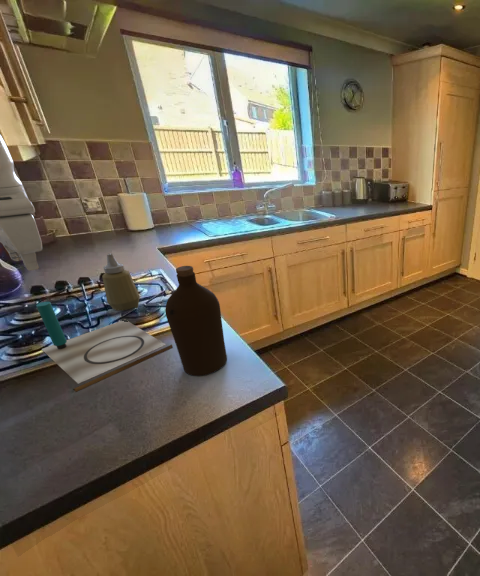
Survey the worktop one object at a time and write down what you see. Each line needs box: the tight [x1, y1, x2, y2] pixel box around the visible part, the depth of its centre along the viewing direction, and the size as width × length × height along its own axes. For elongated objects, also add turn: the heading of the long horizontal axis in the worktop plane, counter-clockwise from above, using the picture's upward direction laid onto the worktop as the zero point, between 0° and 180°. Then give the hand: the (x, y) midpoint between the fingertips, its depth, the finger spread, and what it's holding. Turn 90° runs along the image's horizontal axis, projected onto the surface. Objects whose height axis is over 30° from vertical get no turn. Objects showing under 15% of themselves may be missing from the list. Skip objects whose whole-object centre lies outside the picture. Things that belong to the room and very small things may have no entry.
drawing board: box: [41, 320, 174, 393], centre depth 83 cm, size 24×20×1 cm
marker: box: [35, 301, 68, 349], centre depth 79 cm, size 2×2×12 cm
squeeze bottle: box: [101, 252, 141, 312], centre depth 99 cm, size 8×8×18 cm
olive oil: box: [165, 265, 228, 377], centre depth 74 cm, size 11×11×25 cm
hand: (25, 264), depth 72 cm, fingers open, 8 cm apart
